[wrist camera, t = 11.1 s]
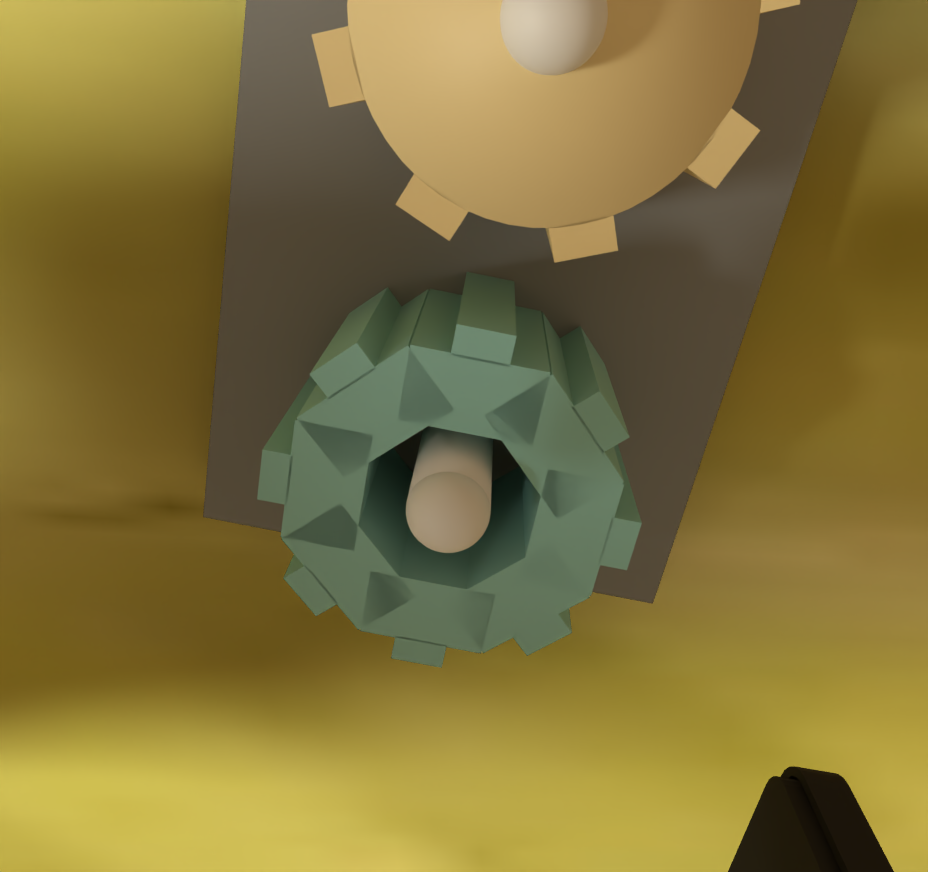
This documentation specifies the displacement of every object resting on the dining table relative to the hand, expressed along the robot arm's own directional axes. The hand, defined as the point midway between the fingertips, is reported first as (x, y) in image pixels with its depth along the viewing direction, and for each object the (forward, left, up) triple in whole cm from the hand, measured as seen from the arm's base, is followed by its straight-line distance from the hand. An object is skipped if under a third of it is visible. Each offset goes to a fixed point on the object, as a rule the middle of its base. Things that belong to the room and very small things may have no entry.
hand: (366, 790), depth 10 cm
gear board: (+5, -1, -14) cm, 14 cm away
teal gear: (0, -1, -12) cm, 12 cm away
